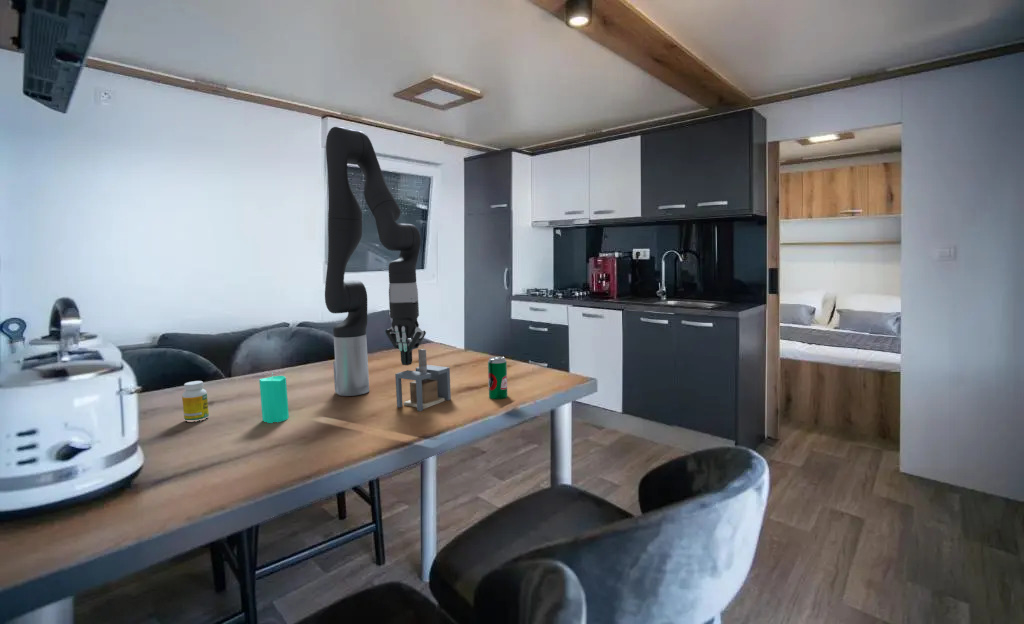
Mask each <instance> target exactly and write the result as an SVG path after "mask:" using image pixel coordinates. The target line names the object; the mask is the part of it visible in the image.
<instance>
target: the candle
mask: <svg viewBox="0 0 1024 624" xmlns="http://www.w3.org/2000/svg"><path fill="white" fill-rule="evenodd" d="M273 374H274V373H273V372H271V375H272V376H269V377H263V378H259V379H258V380H259V393H260V404H261V405H260V406H261V417H262V422H263V421H264V422H267V423H266V424H274V423H273V422H277V423H280V422H285V421H286V420H287V421H288V419H289V418H290V416H289V415H290V414H289V401H288V388H287V377H286V376H284V375H273ZM264 422H263V423H264Z"/></svg>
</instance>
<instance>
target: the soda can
mask: <svg viewBox="0 0 1024 624" xmlns="http://www.w3.org/2000/svg"><path fill="white" fill-rule="evenodd" d="M507 363H508V362H507V360H506V357H504V356H491V357H489V358H488V361H487V371H488V372H487V376H488V377H487V378H488V381H487V382H488V398H489V399H490V400H491V399H492V400H504V399H507V398H508V396H509V395H508V365H507Z"/></svg>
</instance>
